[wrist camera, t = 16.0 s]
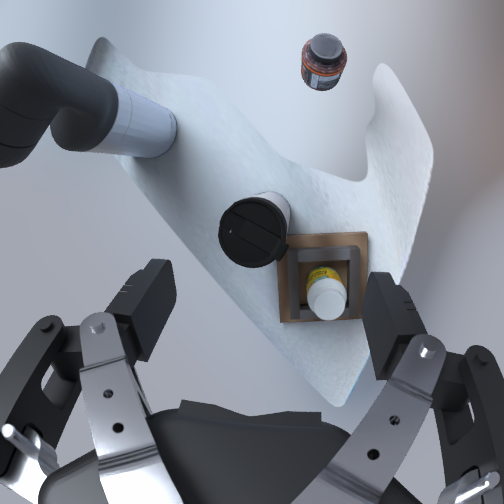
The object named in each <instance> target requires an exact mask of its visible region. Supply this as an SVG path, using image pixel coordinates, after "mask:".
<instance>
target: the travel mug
mask: <svg viewBox="0 0 504 504" xmlns="http://www.w3.org/2000/svg"><path fill="white" fill-rule="evenodd" d="M289 220H290V206H289V204H288V202H287V200H286V199H285V198H284V197H283V196H282V195H280V194H278V193H276V192H263V193H260V194H256V195H253V196H249V197H246V198H243V199H241V200H239V201H237V202H235V203H234V204H233V205H231V206H230V207H229V208H228V209H227V210H226V211H225V212H224V214H223V215H222V217H221V220H220V227H219V232H218V238H219V243H220V245H221V248H222V250H223V251H224V253H225V254H226V255H227V256H228V257H229V259H231V260H232V261H233V262H235V263H236V264H238V265H241V266H244V267H247V268H258V267H263V266H266V265H268V264H270V263H271V262H273V261H274V260H277V261H280V260H281V259H282V258H283V257H284V255H285V253H286V252H287V250H288V248H289V243H286V238H287V233H288V226H289Z"/></svg>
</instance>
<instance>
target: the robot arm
mask: <svg viewBox="0 0 504 504" xmlns="http://www.w3.org/2000/svg"><path fill="white" fill-rule="evenodd" d="M49 125H50V129H51V133H52V136H53V138H54V140H55V142H56V143H57V144H58V145H59V146H60V147H61V148H63V149H65V150H68V151H78V152H79V151H80V152H94V153H106V154H116V155H126V156H134V157H143V158H154V157H157V156H160V155H161V154H163V153H164V152H166V151H167V150H168V149H169V148H170V146H171V145H172V143H173V141H174V139H175V136H176V131H177V125H176V120H175V118H174V115H173V114H172V113H171V112H170V111H169V110H168V109H167V108H165V107H163V106H161V105H159V104H157V103H155V102H153V101H151V100H149V99H147V98H145V97H143V96H141V95H139V94H137V93H135V92H133V91H131V90H129V89H126V88H124V87H122V86H120V85H118V84H115V83H113V82H111V81H109V80H106V79H104V78H102V77H100V76H98V75H96V74H94V73H93V72H91V71H89V70H87V69H85V68H83V67H81V66H78V65H76V64H74V63H72V62H70V61H68V60H66V59H63V58H61V57H59V56H57V55H55V54H53V53H51V52H49V51H47V50H45V49H43V48H40V47H38V46H35V45H32V44H29V43H25V42H14V43H11V44H8V45H6V46H4V47H3V48H2V49H1V50H0V168H6V167H10V166H14V165H16V164H18V163H21V162H22V161H23V160H24V159H26V158H27V157H28V155H29V154H30V153H31V152H32V150H33V149H34V148H35V146H36V145H37V143H38V141H39V140H40V138H41V137H42V135H43V134H44V132H45V131H46V129H47V128H48V126H49ZM176 296H177V294H176V286H175V280H174V275H173V269H172V264H171V261H170V260H164V259H151V260H150V262H149V263H148V264H147V266H146V267H145V268H144V270H139V271H137V272H136V273H135V274H133V275H131V276H130V278H129V279H128V280H127V281H126V283H125V285H123V287H122V288H121V290H120V292H118V294H117V295H116V296H115V298H114V299H113V300H112V302H111V303H110V305H109V306H108V307H107V308H106V310H105V311H104V312H98V313H94V314H92V315H90V316H88V317H87V318H85V319H84V320H83V322H82V323H81V325H80V326H64V324H63V322H62V320H61V318H59V317H58V316H55V315H50V316H46V317H44V318H42V319H40V320H39V321H38V322H37V323H36V324H35V325H34V326H33V328H32V329H31V330H30V332H29V333H28V334H27V336H26V337H25V338H24V340H23V341H22V343H21V344H20V346H19V347H18V348H17V350H16V351H15V353H14V354H13V356H12V357H11V359H10V360H9V362H8V363H7V365H6V367H5V368H4V369H3V371H2V372H1V374H0V484H2V485H3V486H5V487H7V488H8V489H10V490H14V491H15V492H17V493H19V494H20V495H22V496H24V497H25V498H27V499H28V500H30V501H31V502H33V503H35V504H422V503H421V502H420V501H419V500H418V499H416V498H415V497H414V496H413V495H412V494H411V493H410V492H409V491H408V490H407V489H406V488H405V487H404V486H403V485H402V484H401V483H400V482H398V480H396V479H395V478H394V475H395V473H396V472H397V470H398V468H399V467H400V465H401V463H402V462H403V460H404V458H405V456H406V455H407V453H408V451H409V449H410V447H411V445H412V444H413V442H414V440H415V438H416V436H417V434H418V432H419V430H420V428H421V426H422V424H423V421H424V419H425V417H426V415H427V413H428V410H429V408H433V409H434V414H435V418H436V423H437V428H438V434H439V440H440V445H441V452H442V459H443V466H444V474H445V483H446V487H445V489H444V490H443V491H442V492H441V494H440V496H439V499H438V503H437V504H504V378H503V376H502V373H501V371H500V368H499V366H498V364H497V362H496V360H495V357H494V356H493V354H492V353H491V352H490V351H489V350H488V349H486V348H485V347H483V346H479V345H474V346H471V347H469V349H467V351H466V353H465V354H464V355H461V354H456V353H452V352H447V351H446V349H445V346H444V345H443V343H442V342H441V341H440V340H439V339H437V338H436V337H434V336H432V335H428V333H427V331H426V329H425V327H424V324H423V322H422V320H421V318H420V316H419V313H418V311H416V307H415V305H414V303H413V301H412V299H411V297H410V295H409V293H408V292H407V291H406V290H405V289H404V288H403V287H402V286H400V285H395V282H394V280H393V278H392V276H391V274H390V273H389V272H371V273H370V275H369V278H368V282H367V286H366V290H365V294H364V298H363V301H362V307H361V316H362V321H363V324H364V328H365V332H366V336H367V340H368V345H369V349H370V353H371V357H372V362H373V366H374V371H375V376H376V380H387V383H386V385H385V386H384V388H383V389H382V391H381V393H380V394H379V396H378V397H377V399H376V400H375V402H374V403H373V405H372V406H371V408H370V409H369V411H368V413H367V414H366V415H365V417H364V418H363V420H362V421H361V422H360V424H359V425H358V426H357V428H356V429H355V431H354V432H353V433H352V435H350V434H349V433H348V432H346V431H345V430H343V429H341V428H339V427H337V426H335V425H332V424H329V423H326V422H322V421H321V412H290V411H286V412H280V413H273V414H266V415H259V416H245V415H242V414H239V413H236V412H233V411H231V410H228V409H225V408H222V407H219V406H217V405H213V404H206V403H200V402H194V401H188V400H182V401H181V404H180V407H179V409H170V410H164V411H160V412H157V413H154V414H153V413H152V411H151V409H150V407H149V404H148V402H147V399H146V396H145V394H144V391H143V389H142V386H141V383H140V380H139V378H138V375H137V372H136V369H135V367H134V365H135V363H136V361H137V360H139V361H144V362H148V360H149V358H150V355H151V353H152V351H153V349H154V347H155V345H156V343H157V341H158V339H159V336H160V334H161V332H162V330H163V328H164V326H165V324H166V322H167V320H168V318H169V315H170V314H171V312H172V310H173V308H174V305H175V303H176ZM50 364H51V366H52V367H53V369H54V371H53V373H52V375H51V377H50V378H49V380H48V382H47V384H46V386H45V388H44V389H43V391H42V388H41V381H42V378H43V376H44V375H45V373H46V371H47V369H48V368H49V366H50ZM81 390H82V391H83V397H84V402H85V407H86V412H87V416H88V421H89V425H90V430H91V434H92V438H93V441H94V445H95V449H94V450H92V451H91V452H88V453H87V454H85V455H83V456H81V457H80V458H78V459H76V460H74V461H72V462H70V463H69V464H67V465H65V466H63V467H61V468H60V467H59V464H58V463H57V455H56V452H55V449H56V447H57V444H58V442H59V439H60V437H61V435H62V432H63V430H64V428H65V425H66V423H67V421H68V418H69V416H70V414H71V412H72V410H73V407H74V405H75V403H76V401H77V398H78V397H79V395H80V392H81ZM469 402H471V406H472V409H473V413H474V418H475V419H474V423H473V419H472V415H471V412H470V408H469V405H468V403H469Z"/></svg>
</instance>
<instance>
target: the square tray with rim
mask: <svg viewBox="0 0 504 504" xmlns="http://www.w3.org/2000/svg"><path fill="white" fill-rule="evenodd" d="M286 243H289V248H288V250H287V252H286V253H285V255H284V257H283V258H282V259H281V260H280V261H277V274H278V291H279V309H280V323H282V322H311V321H331V320H323V319H321V318H319V317H318V316H317V315H316V313H314V312H313V311H312V310H311V308H310V307H309V304H308V300H307V289H306V280H307V276H308V274H309V273H310V272H311V271H312V270H313V269H314V268H316V267H318V266H329V267H331V268H333V269H335V270H336V272H337V273H338V274H339V276H340V279H341V281H342V283H343V285H344V287H345V290H346V293H347V299H346V303H345V309H344V311H343V313H342V314H341V315H340V316H339V317H338V318H336V319H334V320H347V319H361V318H362V316H361V307H362V301H363V298H364V294H365V290H366V286H367V255H368V233H367V232H344V233H321V234H300V235H287V238H286Z"/></svg>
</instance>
